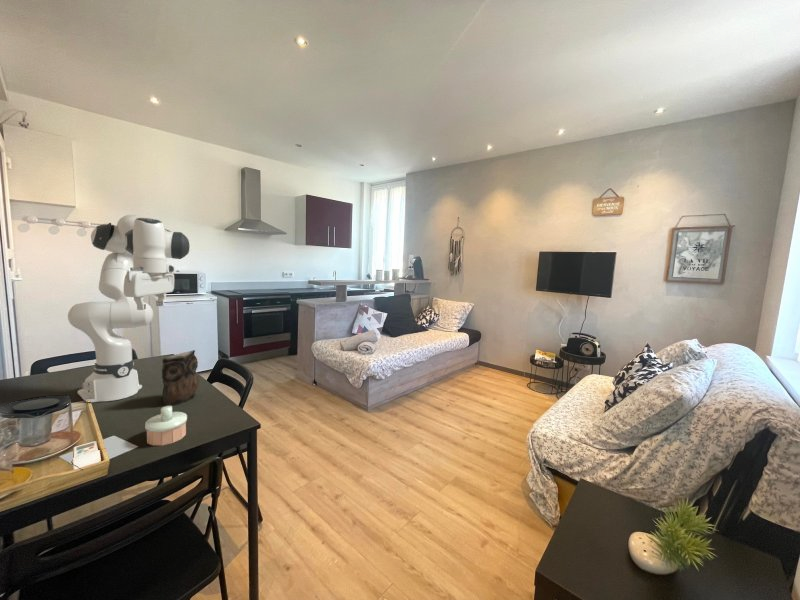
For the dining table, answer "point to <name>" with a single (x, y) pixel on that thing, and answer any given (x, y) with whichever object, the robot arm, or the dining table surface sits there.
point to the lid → (165, 420)
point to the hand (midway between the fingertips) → (151, 307)
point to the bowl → (166, 436)
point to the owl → (179, 378)
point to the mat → (108, 448)
